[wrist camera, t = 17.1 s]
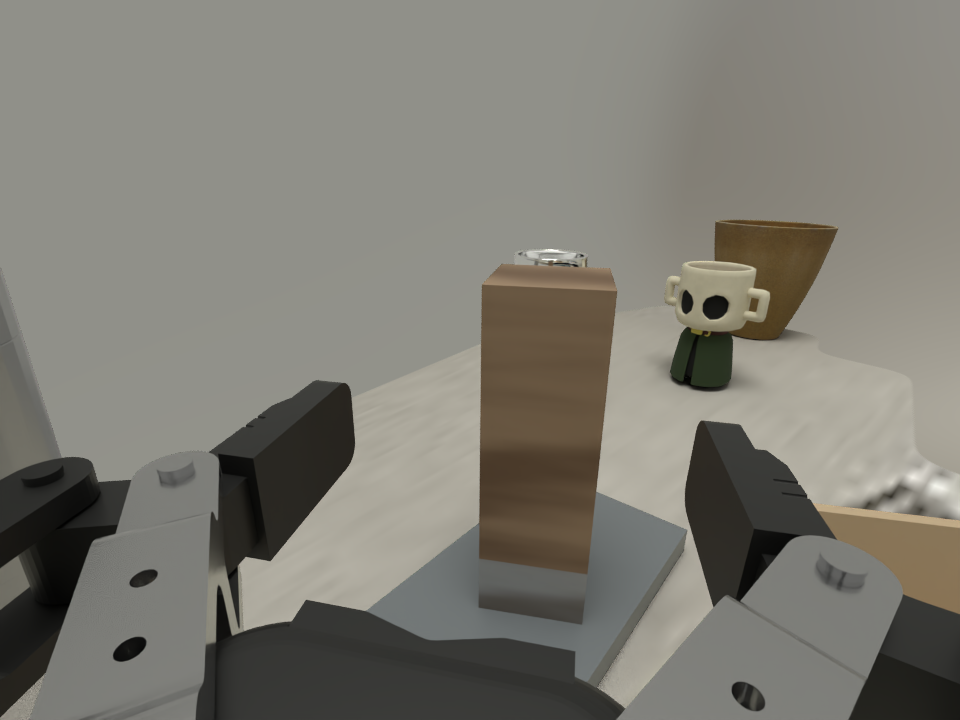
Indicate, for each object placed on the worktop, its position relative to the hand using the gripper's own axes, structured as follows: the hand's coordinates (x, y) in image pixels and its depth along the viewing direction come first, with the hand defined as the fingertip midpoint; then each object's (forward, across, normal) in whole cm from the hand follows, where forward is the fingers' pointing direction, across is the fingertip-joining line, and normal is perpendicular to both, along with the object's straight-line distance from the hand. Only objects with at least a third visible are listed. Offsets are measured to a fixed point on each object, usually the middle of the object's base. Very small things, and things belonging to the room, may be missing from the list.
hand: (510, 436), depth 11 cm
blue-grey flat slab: (+11, 0, +16) cm, 19 cm away
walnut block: (+11, 0, +14) cm, 18 cm away
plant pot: (+68, -27, +16) cm, 75 cm away
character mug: (+46, -16, +16) cm, 51 cm away
